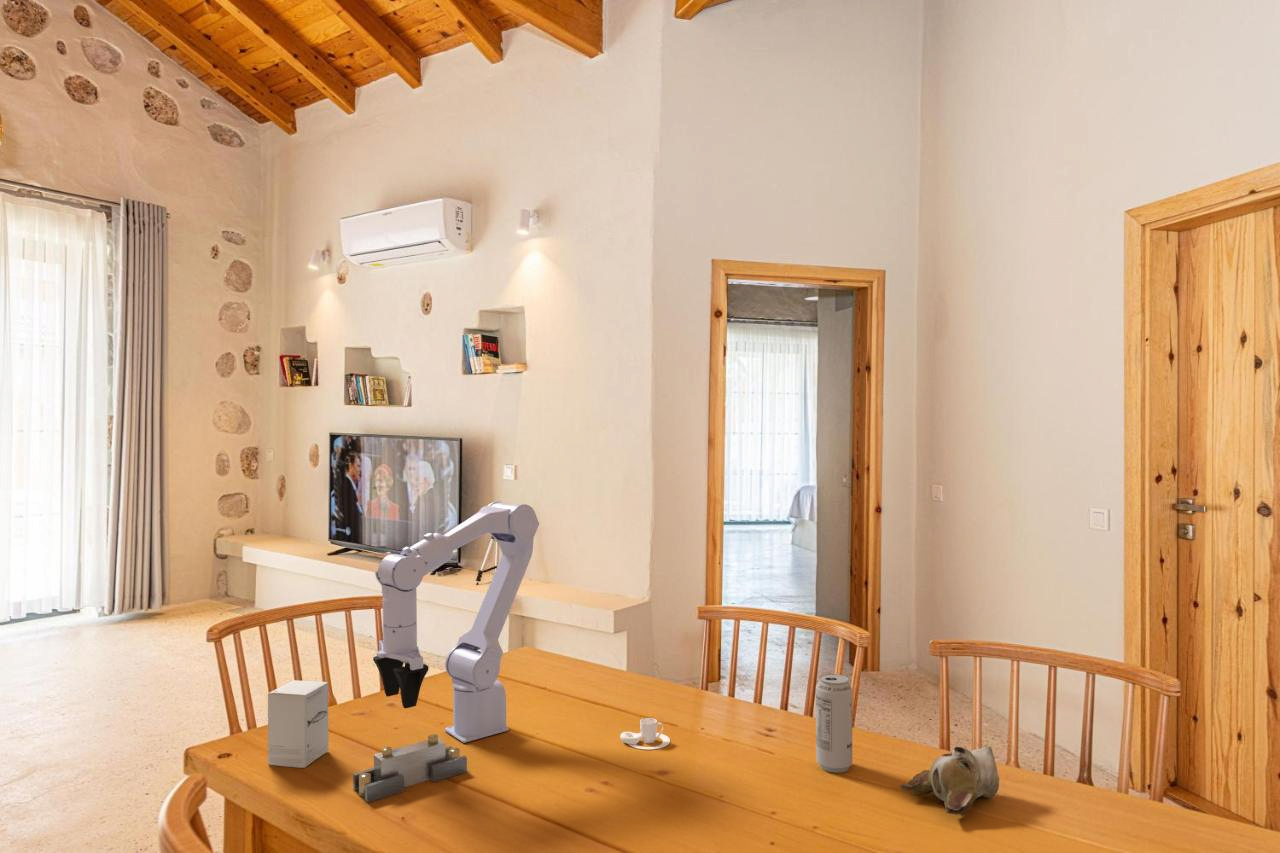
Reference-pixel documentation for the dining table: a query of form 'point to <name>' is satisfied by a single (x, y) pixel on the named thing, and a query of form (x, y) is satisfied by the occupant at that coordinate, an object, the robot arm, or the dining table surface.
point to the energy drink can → (834, 723)
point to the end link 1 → (376, 785)
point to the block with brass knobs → (410, 761)
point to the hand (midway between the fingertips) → (400, 700)
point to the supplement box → (297, 723)
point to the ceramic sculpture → (958, 778)
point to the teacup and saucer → (646, 735)
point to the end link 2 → (449, 765)
